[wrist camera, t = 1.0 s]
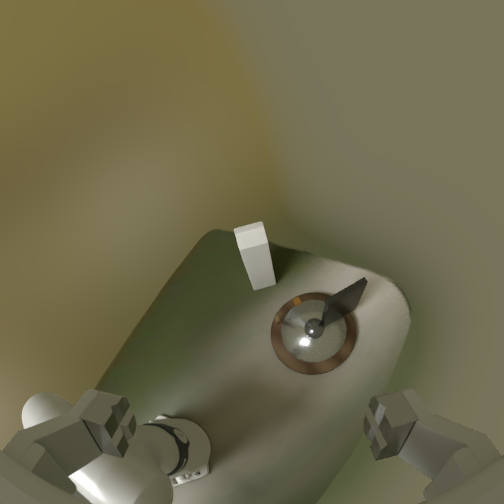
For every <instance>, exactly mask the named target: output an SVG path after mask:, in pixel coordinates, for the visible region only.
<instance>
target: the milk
mask: <svg viewBox="0 0 504 504" xmlns="http://www.w3.org/2000/svg"><path fill="white" fill-rule="evenodd" d="M234 232H235V236H236V239H237V243H238V247H239V250H240V253H241V256H242V259H243V261H244V264H245V267H246V270H247V273H248V275H249V278H250V281H251V284H252V286H253V289H254V290H258V289H262V288H265V287H269V286H273V285H276V281H275V275H274V270H273V265H272V260H271V255H270V250H269V245H268V240H267V237H266V233H265V230H264V226H263V222H261V221H260V222H256V223H252V224H249V225H245V226H242V227H238V228H235V229H234Z"/></svg>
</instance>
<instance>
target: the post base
mask: <svg viewBox="0 0 504 504" xmlns="http://www.w3.org/2000/svg"><path fill="white" fill-rule="evenodd" d="M297 297H299V299H300V301H301V302H304V301H309V300H320V301H325V300H326V299H327V298H329V297H331V296H329V295H325V294H320V293H308V294H303V295H300V296H297ZM295 298H296V297H295ZM295 298H293V299H295ZM293 299H291V300H290V301H288V302H287V303H286V304H284V305H283V306H282V308H281V309H280V310H279V311H278V313H277V314H276V315H275V318H274V321H273V323H272V328H271V340H272V345H273V348H274V350H275V353H276V355H277V356H278V358H279V359H280V360H281V361H282V362H283V363H284V364H285V365H286V366H287V367H289V368H290V369H292V370H294V371H296V372H299V373H302V374H308V375H316V374H322V373H326V372H328V371H331V370H333V369H335V368H336V367H338V366H339V365H340V364H341V363H342V362H343V361H344V360H345V359H346V358H347V357H348V355H349V354H350V352H351V350H352V348H353V346H354V342H355V337H356V328H355V323H354V319H353V317H352V315H351V313H348V314H346V315H345V316H343V317H344V320H345V323H346V329H347V330H346V338H345V341H344V343H343V345H342V347H341V348H340V350H339V351H338V352H337V353H336V354H335V355H334V356H333V357H331V358H330V359H328V360H326V361H323V362H318V363H308V362H303V361H300V360H298V359H296V358H295V357H293V356H292V355H291V354H290V353H289V352H288V351H287V349H286V348H285V346H284V343H283V340H282V335H281V328H282V323H283V320H284V318H285V316H286V315H287V313H288V312H289V311H290V310H291V309H292V308H293V307H294V306H295V305H294V304H293V302H292V300H293Z"/></svg>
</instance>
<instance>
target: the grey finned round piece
mask: <svg viewBox="0 0 504 504" xmlns="http://www.w3.org/2000/svg"><path fill="white" fill-rule="evenodd" d="M366 285H367V280H366V279H365V278H362V279H360V280H359V281H357V282H355V283H354V284H352V285H350V286H348V287H347V288H345V289H343V290H342V291H340V292H338V293H336V294H334V295H333V296H331V297H329V298H327V299H326V300H325V301H320V300H309V301H304V302H301V301H300V299H299V297H296V298H295V299H293V300H292V302H293V304H294V305H295V306H294V307H293V308H292V309H291V310H290V311H289V312H288V313H287V315H286V316H285V318H284V320H283V323H282V328H281V335H282V340H283V343H284V346H285V348H286V349H287V351H288V352H289V353H290V354H291V355H292V356H293V357H295V358H296V359H298V360H300V361H303V362H308V363H318V362H323V361H326V360H328V359H330V358H331V357H333V356H334V355H335V354H336V353H337V352H338V351H339V350H340V348H341V347H342V345H343V343H344V341H345V338H346V330H347V329H346V323H345V320H344V317H343V316H345V315H346V314H348V313H350V312H351V311H353V310H355V309H356V306H357V304H358V302H359V300H360V298H361V296H362V294H363V291H364V289H365V287H366Z"/></svg>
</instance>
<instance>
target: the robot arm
mask: <svg viewBox="0 0 504 504" xmlns="http://www.w3.org/2000/svg"><path fill="white" fill-rule="evenodd" d="M129 406H130V403H129V401H128V399H127V398H126V397H123V396H118V395H114V394H110V393H106V392H102V391H97V390H94V389H89V390H87V391H86V392H85V393H84V394H83V396H82V397H81V398H80V400H79V401H78V402H77V403H76V405H73V404H71V403H70V402H68V401H66V400H65V399H63V398H61V397H60V396H58V395H56V394H54V393H51V392H41V393H38V394H36V395H34V396H32V397H31V398H30V399H29V400H28V401H27V403H26V404H25V406H24V408H23V411H22V422H23V426H24V429H23V430H21V431H18V432H17V434H16V435H15V436H14V437H13V438H12V440H11V441H10V442H9V443H8V444H7V446H6V447H5V448H4V449H3V451H0V504H172V502H173V487H175V486H178V485H181V484H184V483H187V482H190V481H193V480H195V479H198V478H201V477H204V476H206V475H208V474H209V465H208V461H209V458H210V454H211V445H210V441H209V439H208V436H207V435H206V433H205V432H204V430H203V429H202V428H201V427H200V426H198V425H197V424H195V423H194V422H192V421H189V420H186V419H172V418H169V417H167V416H164V415H160V416H158V417H157V418H156V419H155V420H150V421H149V423H147V424H143V425H136V418H135V416H134V414H133V413H132V412H131V411H130V410H129V409H128V408H129ZM369 407H370V410H369V411H368V412H367V413H366V415H365V418H364V432H365V434H366V437H367V438H368V439H369V440H371V441H373V442H372V444H371V446H370V448H371V450H372V453H373V455H374V458H375V460H380V459H384V458H388V457H392V456H396V455H398V457H400V458H401V459H403V460H404V461H406V462H407V463H408V464H410V465H411V466H413V467H414V468H416V469H417V470H418V471H420V472H421V473H423V474H424V475H426V476H427V477H429V478H430V479H432V482H431V483H430V484H429V485H428V486H427V487H426V488H425V490H424V492H423V494H424V496H425V499H426V501H423V502H421V503H419V504H504V455H503V456H501V455H500V453H499V452H498V450H497V449H496V448H495V446H494V445H493V444H492V442H491V441H490V440H489V439H488V437H487V436H486V434H483V433H480V432H478V431H475V430H473V429H470V428H467V427H465V426H462V425H460V424H457V423H455V422H452V421H450V420H448V419H445V418H443V417H440V416H438V415H432V414H431V413H430V411H429V410H428V408H427V407H426V405H425V404H424V403H423V401H422V400H421V398H420V397H419V396H418V394H417V393H416V392H415V390H414V389H413V388H408V389H405V390H400V391H396V392H392V393H388V394H383V395H378V396H374V397H372V398H371V399H370V402H369ZM198 472H200V473H201V474H199V473H198ZM89 501H90V502H91V503H90V502H89Z"/></svg>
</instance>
